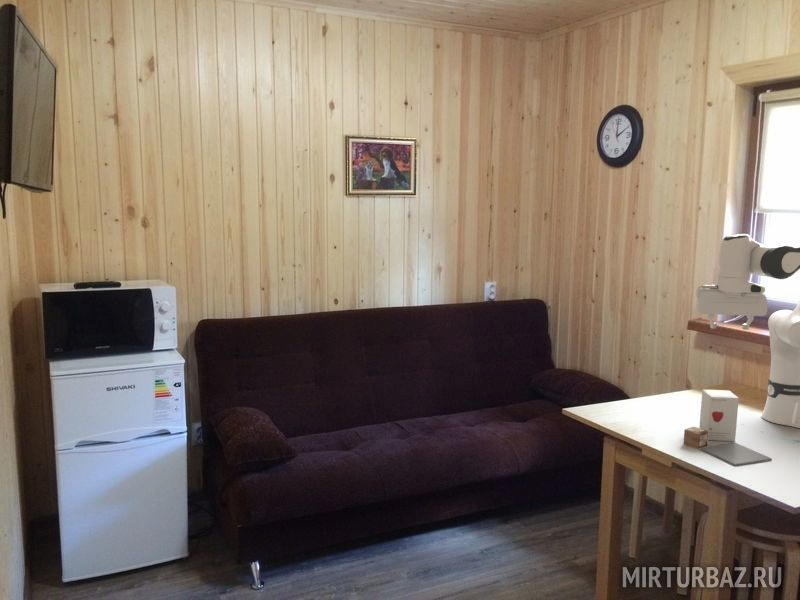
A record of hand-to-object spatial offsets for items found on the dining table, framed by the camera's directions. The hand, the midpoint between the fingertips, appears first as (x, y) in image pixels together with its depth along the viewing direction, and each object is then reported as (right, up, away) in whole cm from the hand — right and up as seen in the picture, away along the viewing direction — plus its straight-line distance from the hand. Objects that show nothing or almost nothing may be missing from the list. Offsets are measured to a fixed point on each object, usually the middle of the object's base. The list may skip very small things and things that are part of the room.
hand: (729, 328), depth 209 cm
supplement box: (+1, -37, +10) cm, 38 cm away
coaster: (-1, -39, -6) cm, 39 cm away
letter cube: (-10, -38, +3) cm, 39 cm away
